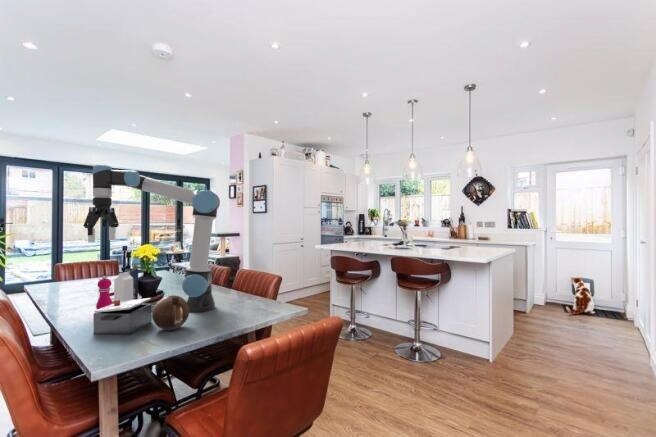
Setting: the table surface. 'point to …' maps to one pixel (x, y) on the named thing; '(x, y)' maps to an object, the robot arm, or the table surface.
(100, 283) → the pepper mill
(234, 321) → the table surface
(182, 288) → the robot arm
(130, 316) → the gray box
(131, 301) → the lid
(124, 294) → the milk
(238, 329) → the table surface
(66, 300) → the table surface
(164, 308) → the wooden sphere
